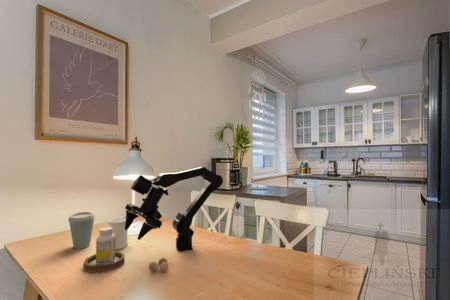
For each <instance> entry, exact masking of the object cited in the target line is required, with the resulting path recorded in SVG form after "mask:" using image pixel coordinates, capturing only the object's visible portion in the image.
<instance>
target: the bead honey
mask: <svg viewBox="0 0 450 300" xmlns="http://www.w3.org/2000/svg"><path fill="white" fill-rule="evenodd" d="M163 262H166V263H167V264H168V260H167V258H165V257H161V258H160V259H159V260H158V262H157V264H158V267H159V266H160V264H161V263H163Z"/></svg>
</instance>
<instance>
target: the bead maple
mask: <svg viewBox="0 0 450 300" xmlns="http://www.w3.org/2000/svg"><path fill="white" fill-rule="evenodd" d="M148 270H149V271H150V272H153V273H154V272H156V271H157V270H159V264H158V262H156V261H152V262H150V263H149V265H148Z"/></svg>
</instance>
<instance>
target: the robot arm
mask: <svg viewBox="0 0 450 300" xmlns="http://www.w3.org/2000/svg"><path fill="white" fill-rule="evenodd" d="M196 177H201V178H202V179H204V180H205V182H204V185H203V187H202V189H201V190H200V192H199V193H198V194H197V195H196V196H195V198H194V199H193V200H192V202H191V203H190V205H189V206H188V207H187V208H186V210H185V211H183V212H182V213H181V212H179V211H178V213H177V214H176V216H175V217H174V218H173V221H172V228H173V229H174V230H175V231H176V233H177V234H176V235H177V236H176V238H175V248H176V249H177V251H178V252H185V251H193V250H194V248H193V237H194V234H195V232H194V230H193V229H192V228H191V225H192V222H193V219H194V217H196V214H197V213H198V212H199V210H200V209H201V208H202V207H203V205H204V203H205V202H206V200H207V199H208V198H210V196H211V194H212V193H214V192H215V191H216V190H218V189H219V188H220V187H221V186H222V185H223V183H224V179H223V177H222V175H220V174H216V173H214V172H212V171H211V170H210V169H208V168H207V167H205V166H198V167H195V168H191V169H186V170H183V171H177V172H162V173H159V174H158V175H157V176H156V177H155V178H153V179H151V180H149V179H147V178H146V177H145V176H143V175H141V174H139V176H138V177H137V178H136V179H135V180H134V181H133V183H132V184H131V187H130V190H132V191H134V192H136V193H138V194H140V195H142V196H144V195H146V197H145V198H142V199H141V200H142V201H143V202H142V204H141V205H140V207H139V206H138V205H135V204H133V203H131V202H129V203H127V204H126V206H125V207H124V209H125V218H126V223H125V230H128V229H129V228H130V227H131V226H132V224H133V222H134V221H135V219H136V218H139V216H140V217H141V218H143V219H145V221H143V222H142V225H141V227H140V230H139V233H138V236H137V240H141V239H142V238H144V236H145V235H147V234H148V233H149V232H150V231H151V230H157V229H160V228H161V227H162V225H163V222H162V220H161V218H163V215H162V214H161V212H160V211H159V205H158V204H159V203H160V200H161V199H162V198H163V195H165V196H169V191H168V187H172V186H174V185H175V184H177V183H178V182H182V181H185V180H189V179H192V178H196ZM153 185H154V186H153ZM155 186H156V187H155Z"/></svg>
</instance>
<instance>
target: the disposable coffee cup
mask: <svg viewBox="0 0 450 300" xmlns="http://www.w3.org/2000/svg"><path fill="white" fill-rule="evenodd" d="M67 220H68V223H69V227H70V235H71V239H72V246H73V248H74V249H79V250H80V249H85V248H87V247H89V246H90V245H91V242H92V235H93V228H94V222H95V221H94V220H95V214H94V213H93V212H92V211H79V212H75V213H73V214H70V215H69V217H68V219H67Z"/></svg>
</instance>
